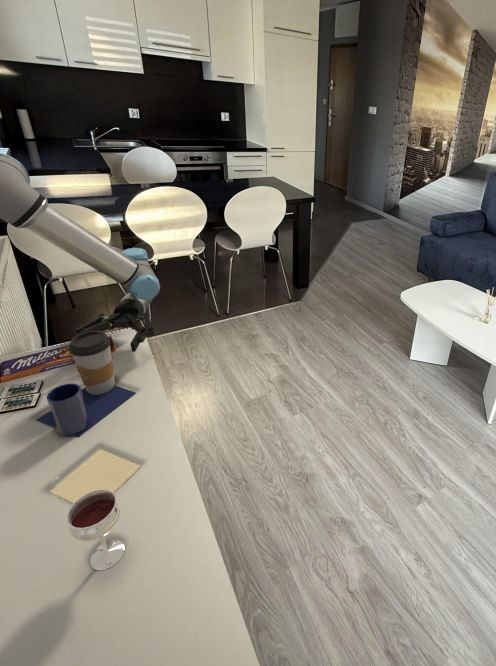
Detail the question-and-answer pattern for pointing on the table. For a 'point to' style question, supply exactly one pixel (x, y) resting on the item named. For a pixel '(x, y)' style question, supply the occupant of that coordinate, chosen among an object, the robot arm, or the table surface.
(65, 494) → the cream mat
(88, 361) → the coffee cup
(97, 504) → the wineglass
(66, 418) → the navy tumbler
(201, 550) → the table surface
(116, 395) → the navy mat
